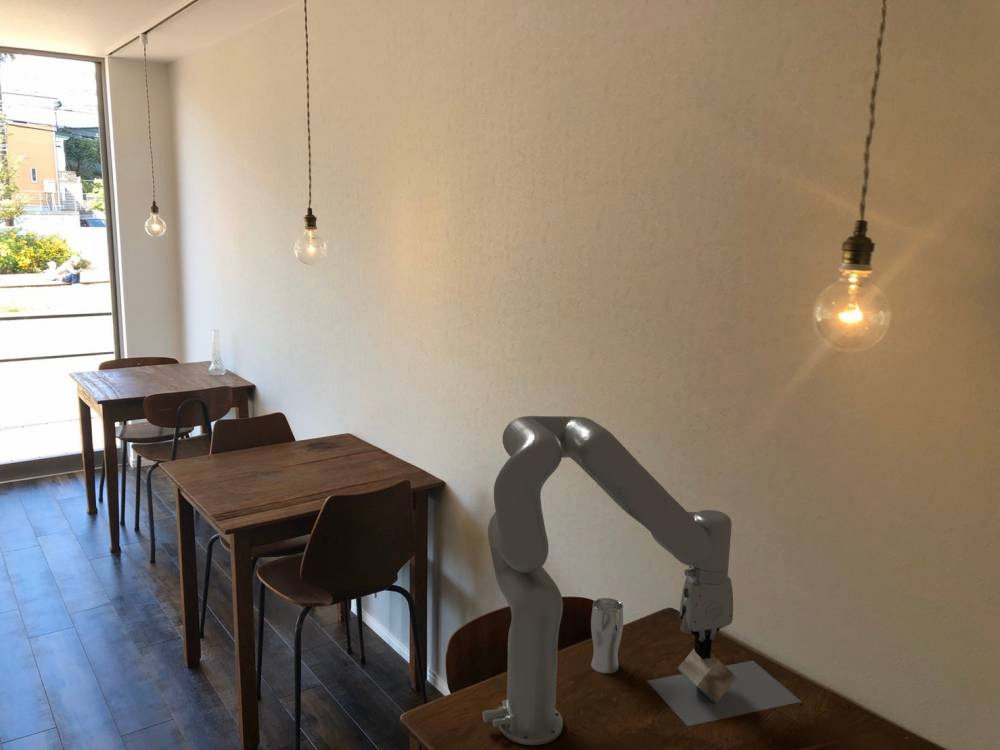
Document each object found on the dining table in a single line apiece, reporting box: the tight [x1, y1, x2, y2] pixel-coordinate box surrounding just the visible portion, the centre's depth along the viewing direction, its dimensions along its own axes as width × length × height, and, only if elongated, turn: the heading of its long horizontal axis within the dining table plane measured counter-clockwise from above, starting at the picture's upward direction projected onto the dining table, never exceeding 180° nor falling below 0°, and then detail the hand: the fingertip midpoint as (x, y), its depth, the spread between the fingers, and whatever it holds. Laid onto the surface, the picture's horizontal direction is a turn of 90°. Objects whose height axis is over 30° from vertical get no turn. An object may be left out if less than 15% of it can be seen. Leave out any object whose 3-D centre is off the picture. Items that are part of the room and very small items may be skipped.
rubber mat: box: [646, 660, 802, 727], centre depth 163 cm, size 27×16×1 cm, turn 109°
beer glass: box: [590, 597, 624, 674], centre depth 170 cm, size 7×7×15 cm
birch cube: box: [677, 648, 738, 704], centre depth 161 cm, size 7×7×7 cm
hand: (702, 655), depth 159 cm, fingers closed
